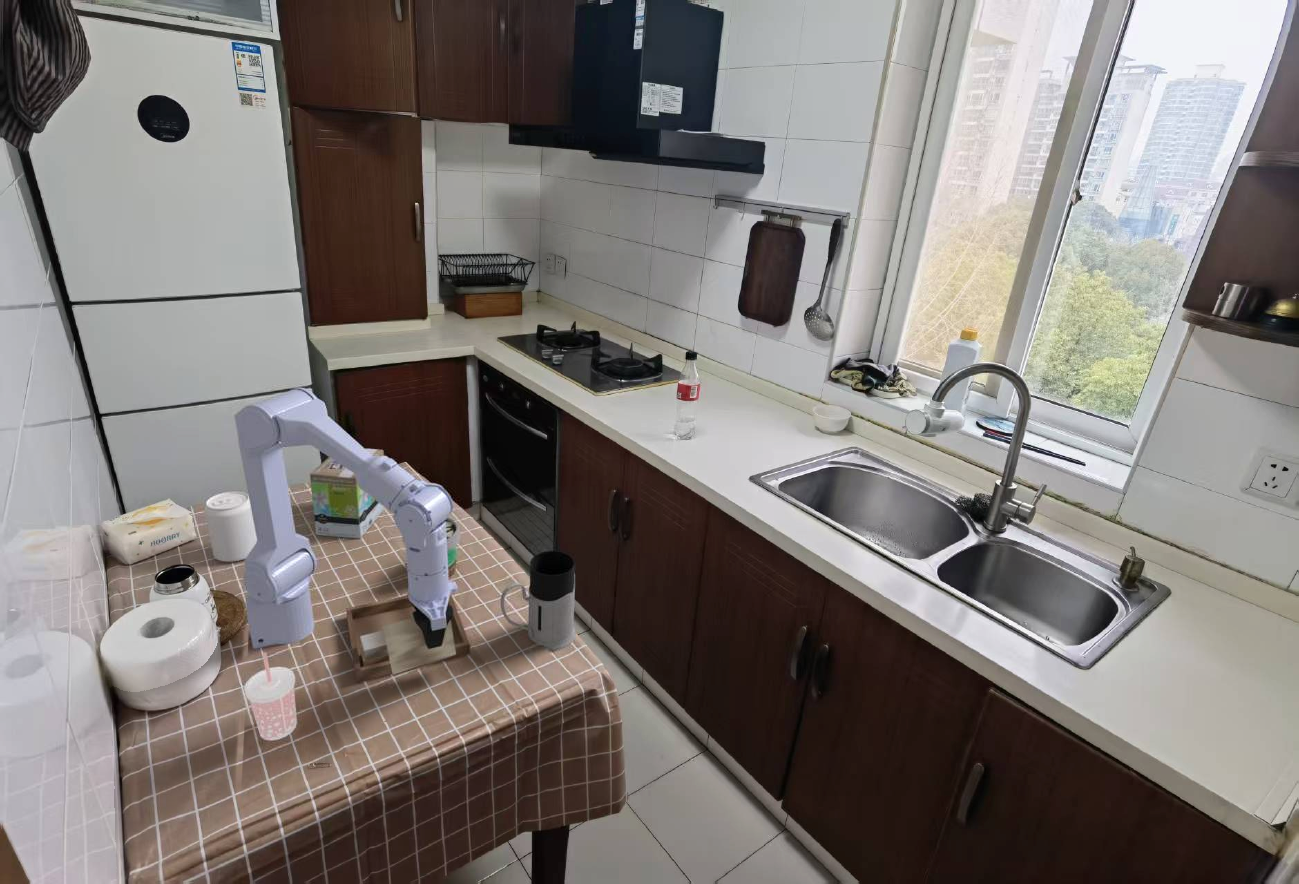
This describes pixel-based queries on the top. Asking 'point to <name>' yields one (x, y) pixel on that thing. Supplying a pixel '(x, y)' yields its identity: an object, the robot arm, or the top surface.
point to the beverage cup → (273, 701)
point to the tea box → (342, 501)
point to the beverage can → (230, 526)
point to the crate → (386, 613)
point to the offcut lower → (375, 660)
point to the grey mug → (549, 600)
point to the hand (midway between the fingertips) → (432, 638)
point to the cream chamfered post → (414, 645)
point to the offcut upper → (374, 645)
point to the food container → (452, 544)
